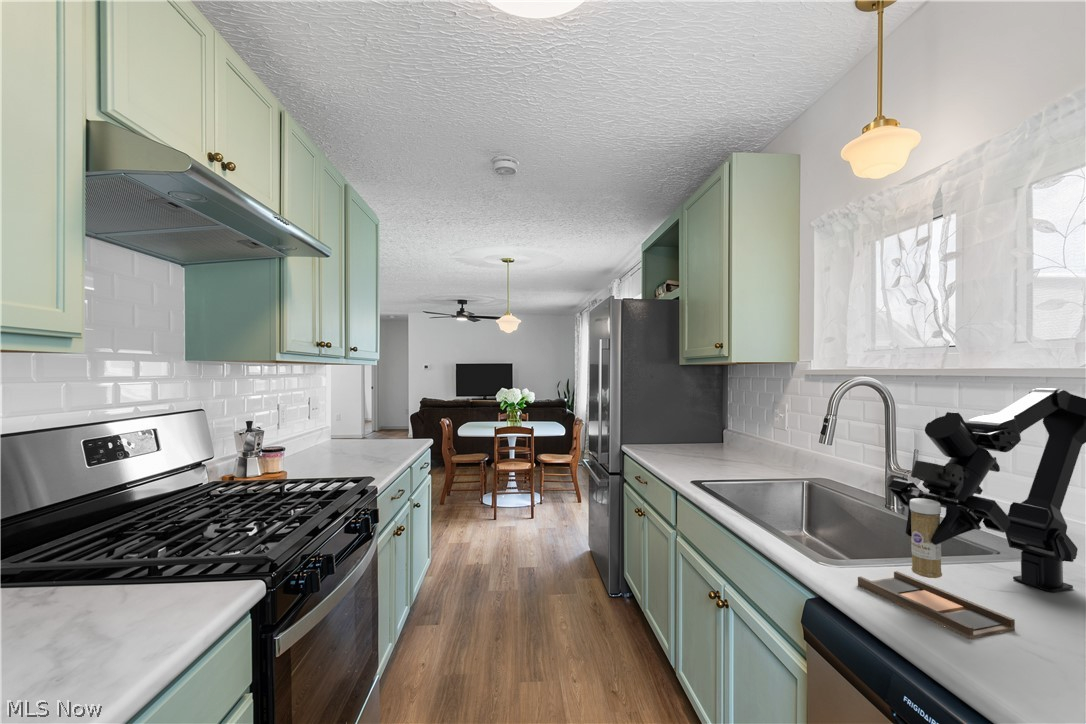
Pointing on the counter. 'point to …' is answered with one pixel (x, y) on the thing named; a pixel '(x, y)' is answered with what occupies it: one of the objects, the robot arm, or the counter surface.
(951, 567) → the counter surface
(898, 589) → the board
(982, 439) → the robot arm
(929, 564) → the sprinkles bottle
